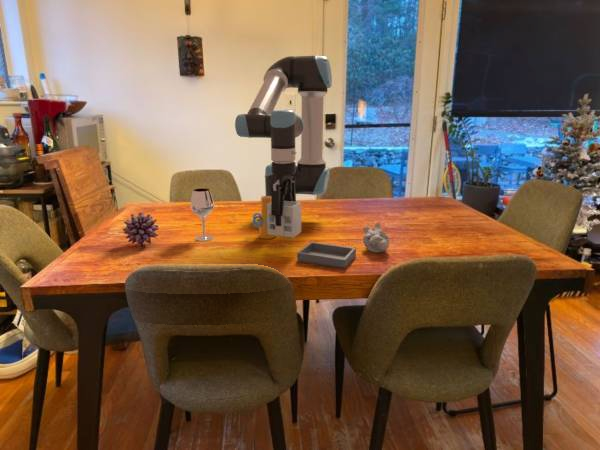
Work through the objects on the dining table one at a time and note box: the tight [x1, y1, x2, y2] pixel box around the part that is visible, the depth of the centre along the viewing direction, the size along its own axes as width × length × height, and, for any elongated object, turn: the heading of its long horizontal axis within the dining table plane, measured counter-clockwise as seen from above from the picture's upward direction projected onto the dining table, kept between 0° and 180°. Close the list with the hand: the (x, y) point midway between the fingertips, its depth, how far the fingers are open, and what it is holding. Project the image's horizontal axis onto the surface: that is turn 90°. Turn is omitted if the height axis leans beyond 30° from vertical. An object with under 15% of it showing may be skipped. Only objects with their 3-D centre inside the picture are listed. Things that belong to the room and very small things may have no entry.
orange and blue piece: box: [251, 195, 276, 240], centre depth 157 cm, size 12×10×15 cm
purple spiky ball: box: [122, 211, 160, 247], centre depth 147 cm, size 12×12×12 cm
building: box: [267, 201, 302, 239], centre depth 140 cm, size 9×6×10 cm
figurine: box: [362, 221, 390, 254], centre depth 143 cm, size 8×10×12 cm
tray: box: [296, 241, 357, 270], centre depth 136 cm, size 16×12×3 cm
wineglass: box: [190, 187, 215, 242], centre depth 154 cm, size 8×8×18 cm
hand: (284, 231), depth 141 cm, fingers closed on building, 6 cm apart
